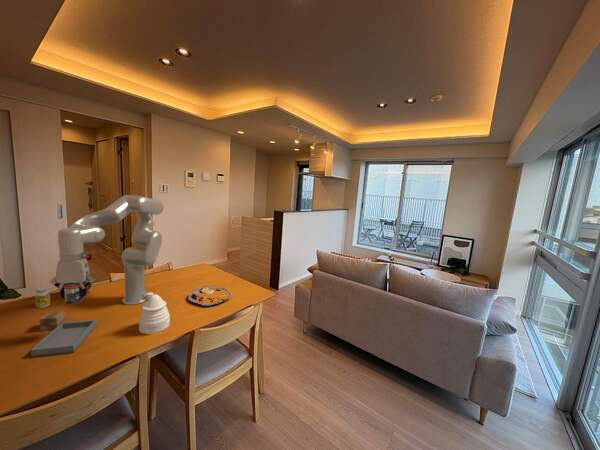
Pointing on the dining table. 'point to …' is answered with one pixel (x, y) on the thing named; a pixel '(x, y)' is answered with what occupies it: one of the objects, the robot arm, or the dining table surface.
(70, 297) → the supplement bottle
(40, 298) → the supplement bottle
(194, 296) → the food plate
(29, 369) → the dining table surface
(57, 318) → the walnut block
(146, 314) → the honey pot
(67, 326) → the tray
